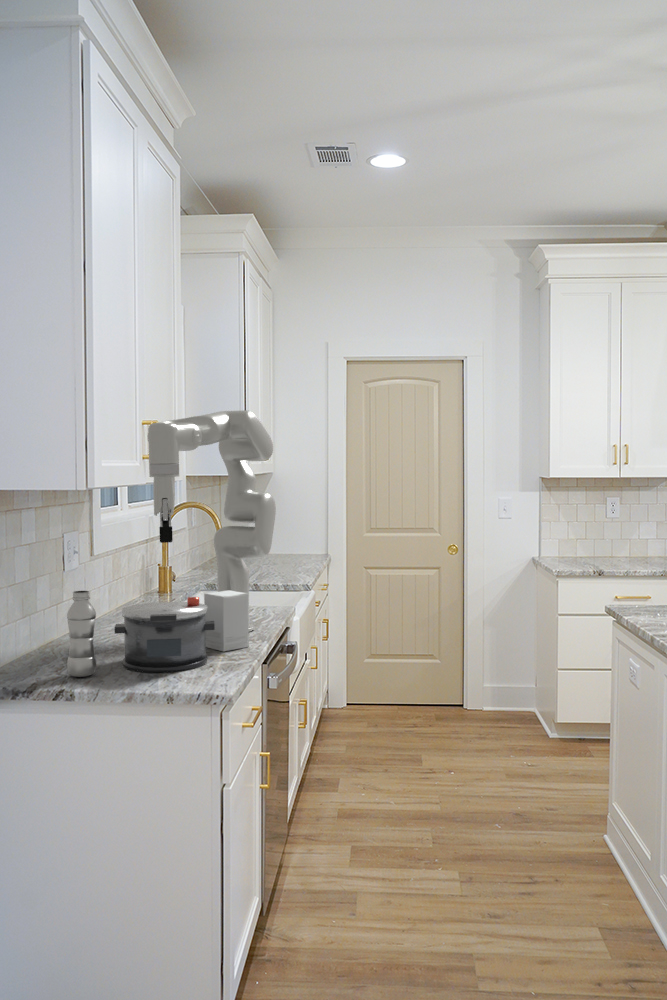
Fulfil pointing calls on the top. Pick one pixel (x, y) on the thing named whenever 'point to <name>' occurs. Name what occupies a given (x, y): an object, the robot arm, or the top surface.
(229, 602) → the supplement box
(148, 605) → the lid
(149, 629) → the pressure cooker
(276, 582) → the top surface
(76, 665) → the plastic bottle
